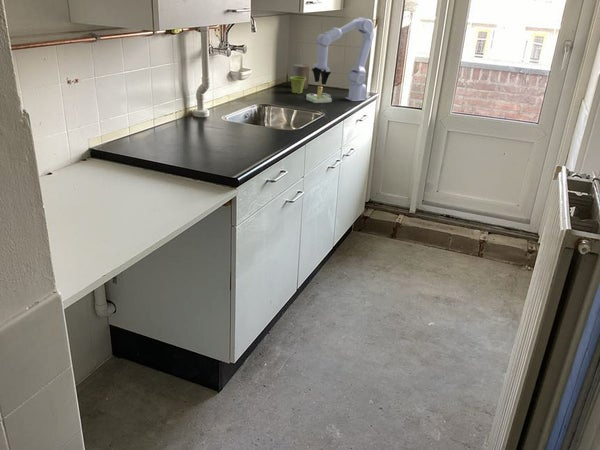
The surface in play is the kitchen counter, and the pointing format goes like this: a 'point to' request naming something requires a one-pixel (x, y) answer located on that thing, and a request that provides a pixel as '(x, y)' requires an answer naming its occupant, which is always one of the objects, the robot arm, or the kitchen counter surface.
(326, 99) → the tray
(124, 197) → the kitchen counter surface
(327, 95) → the tensioner socket
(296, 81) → the plant pot
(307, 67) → the pillar candle
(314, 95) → the idler pulley
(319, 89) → the lock pin
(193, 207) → the kitchen counter surface
